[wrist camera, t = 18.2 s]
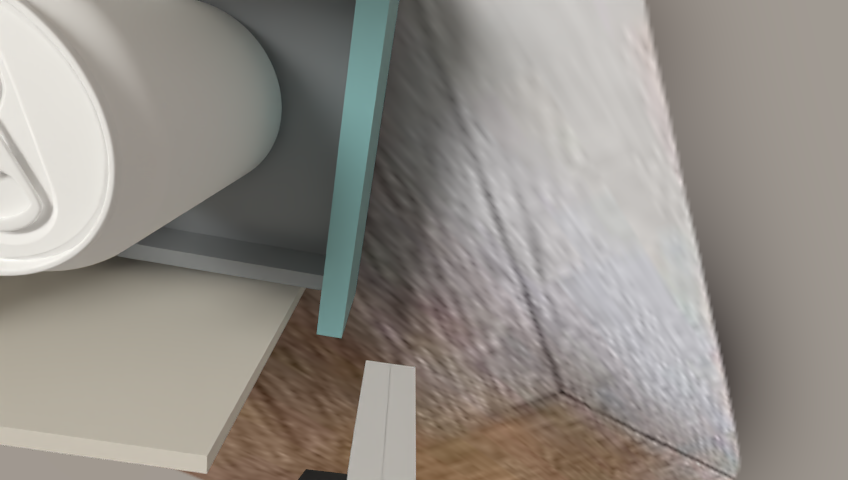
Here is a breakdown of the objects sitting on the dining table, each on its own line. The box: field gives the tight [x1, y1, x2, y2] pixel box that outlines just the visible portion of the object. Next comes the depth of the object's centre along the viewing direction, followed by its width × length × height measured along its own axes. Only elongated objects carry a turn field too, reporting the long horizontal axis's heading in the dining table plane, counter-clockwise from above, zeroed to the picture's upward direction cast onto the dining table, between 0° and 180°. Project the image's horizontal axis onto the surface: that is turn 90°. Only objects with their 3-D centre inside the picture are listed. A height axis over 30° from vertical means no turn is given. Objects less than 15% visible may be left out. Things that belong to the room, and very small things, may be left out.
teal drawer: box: [116, 0, 399, 338], centre depth 20 cm, size 14×18×5 cm
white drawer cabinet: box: [0, 256, 306, 474], centre depth 17 cm, size 14×18×14 cm
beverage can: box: [0, 0, 282, 276], centre depth 16 cm, size 8×8×12 cm
